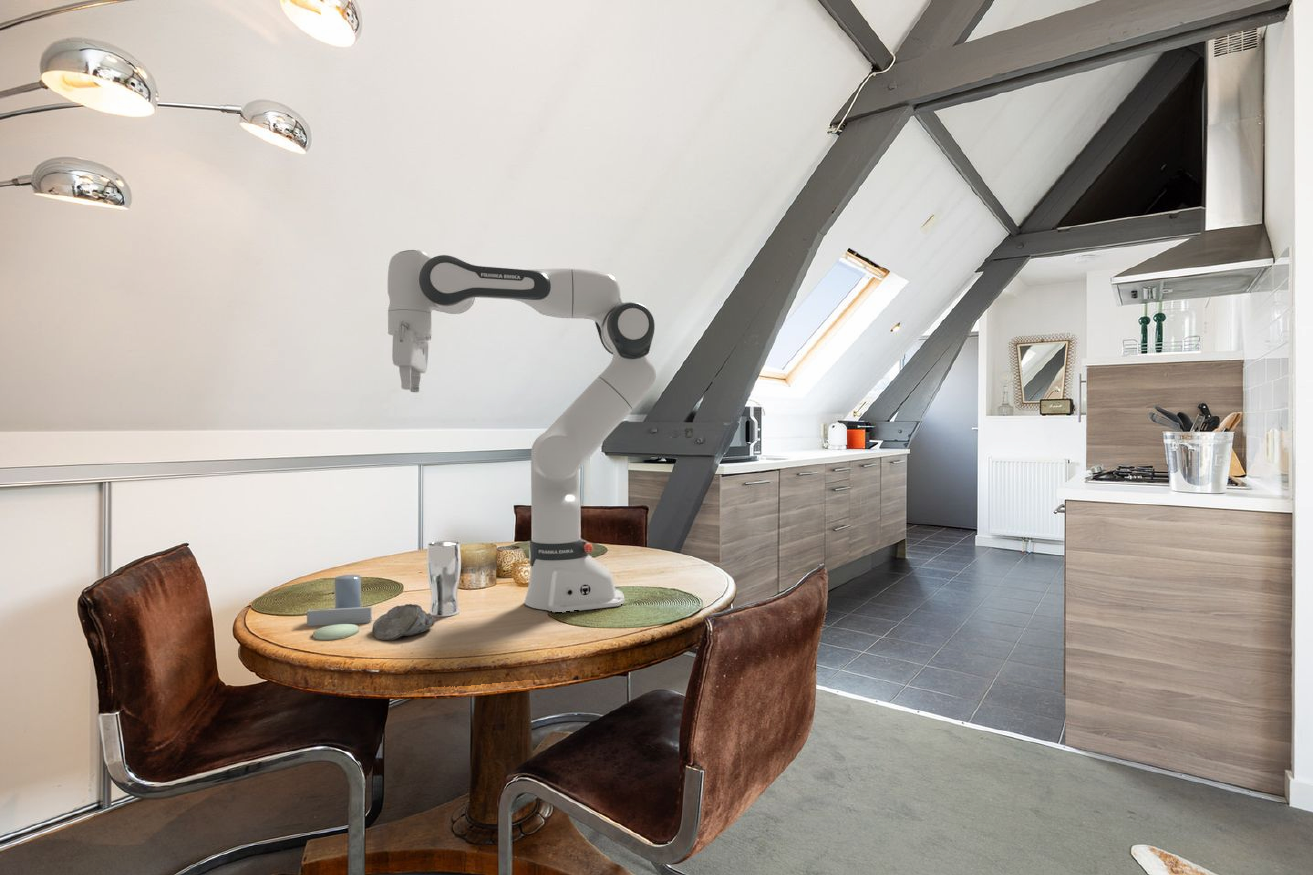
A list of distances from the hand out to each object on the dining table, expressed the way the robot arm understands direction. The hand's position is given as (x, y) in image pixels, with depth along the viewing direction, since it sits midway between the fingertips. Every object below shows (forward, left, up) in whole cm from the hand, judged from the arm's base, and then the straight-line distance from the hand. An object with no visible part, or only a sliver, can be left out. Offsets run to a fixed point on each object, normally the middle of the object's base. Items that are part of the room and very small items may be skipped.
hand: (410, 390), depth 143 cm
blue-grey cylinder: (+13, +1, -48) cm, 49 cm away
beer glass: (-7, +4, -48) cm, 49 cm away
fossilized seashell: (-1, +16, -48) cm, 51 cm away
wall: (+13, +7, -48) cm, 50 cm away
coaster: (+12, +14, -48) cm, 51 cm away
